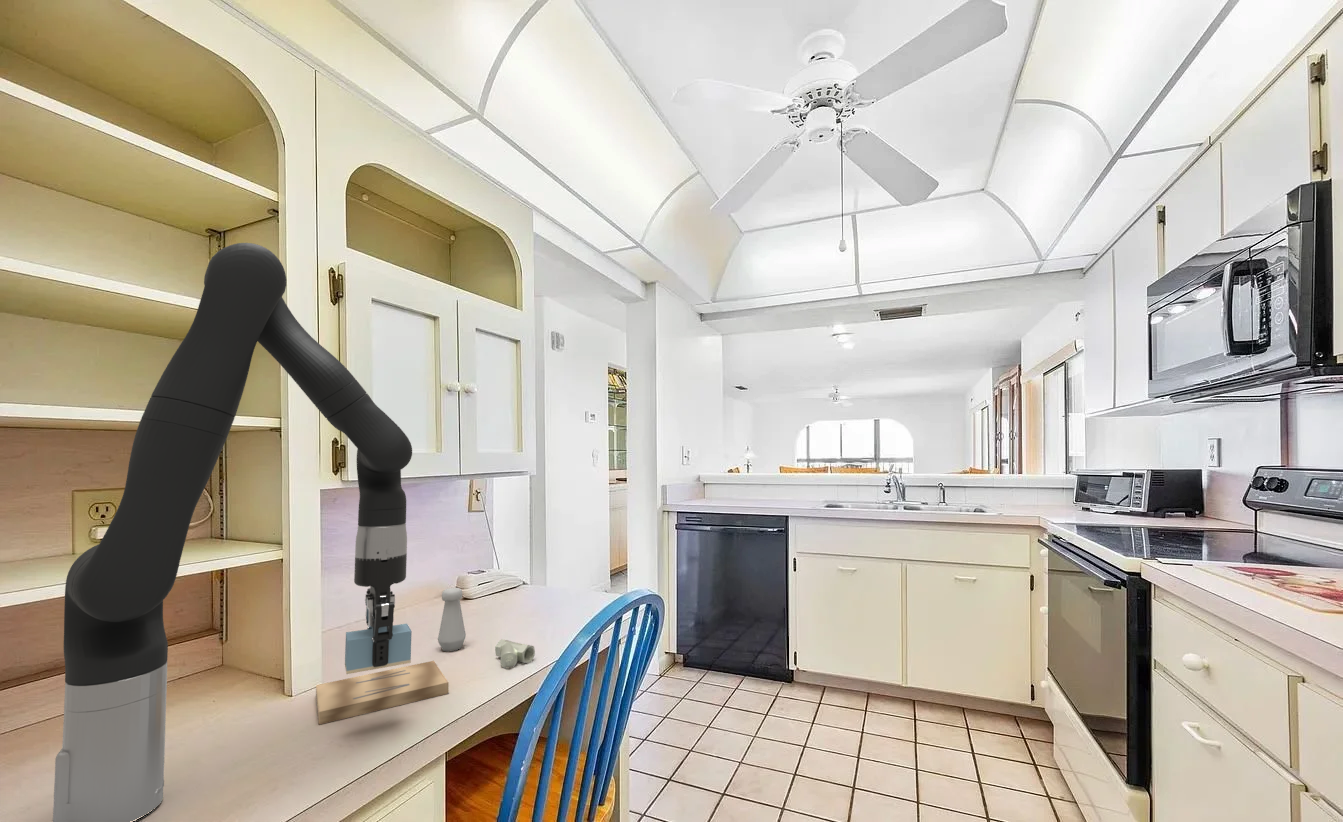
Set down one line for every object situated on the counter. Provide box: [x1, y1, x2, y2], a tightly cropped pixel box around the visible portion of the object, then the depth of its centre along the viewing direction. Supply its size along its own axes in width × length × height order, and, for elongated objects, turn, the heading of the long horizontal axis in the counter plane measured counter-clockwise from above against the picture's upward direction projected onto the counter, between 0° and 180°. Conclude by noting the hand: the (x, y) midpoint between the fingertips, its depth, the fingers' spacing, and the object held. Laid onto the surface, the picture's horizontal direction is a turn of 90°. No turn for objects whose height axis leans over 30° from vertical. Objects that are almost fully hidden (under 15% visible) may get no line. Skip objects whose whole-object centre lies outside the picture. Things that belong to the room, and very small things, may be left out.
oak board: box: [315, 660, 449, 725], centre depth 104 cm, size 20×13×2 cm, turn 123°
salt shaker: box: [437, 587, 467, 652], centre depth 129 cm, size 6×6×13 cm
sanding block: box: [344, 623, 412, 675], centre depth 93 cm, size 9×5×5 cm, turn 122°
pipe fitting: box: [494, 638, 536, 669], centre depth 119 cm, size 8×4×7 cm
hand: (378, 659), depth 93 cm, fingers closed on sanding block, 5 cm apart
